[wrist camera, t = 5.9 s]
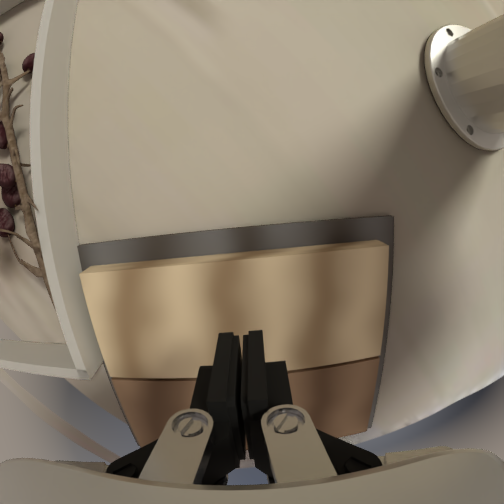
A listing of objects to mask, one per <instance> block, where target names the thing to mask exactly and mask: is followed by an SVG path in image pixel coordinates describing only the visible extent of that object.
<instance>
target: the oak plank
mask: <svg viewBox="0 0 504 504" xmlns="http://www.w3.org/2000/svg"><path fill="white" fill-rule="evenodd" d="M388 261H389V245H387V244H385V243H383V242H381V241H379V240H369V241H358V242H347V243H336V244H325V245H314V246H303V247H292V248H281V249H270V250H259V251H248V252H237V253H227V254H216V255H205V256H194V257H183V258H172V259H161V260H151V261H140V262H129V263H118V264H107V265H97V266H90V267H89V268H87V269H86V270H84V271H83V272H81V273H80V274H79V275H80V279H81V284H82V288H83V292H84V296H85V300H86V303H87V307H88V311H89V314H90V318H91V321H92V325H93V328H94V331H95V335H96V338H97V341H98V344H99V347H100V350H101V353H102V356H103V359H104V362H105V364H106V367H107V370H108V373H109V375H110V377H122V378H197V375H198V371H199V368H200V366H211V365H213V361H214V356H215V350H216V345H217V340H218V334H219V333H224V332H233V333H234V336H235V335H239V339H240V346H241V354H242V350H243V335H248V331H254V330H263V342H264V354H265V362H275V361H286V366H287V371H290V370H298V369H305V368H312V367H319V366H325V365H332V364H338V363H343V362H349V361H354V360H360V359H365V358H370V357H375V356H379V355H380V353H381V346H382V338H383V329H384V319H385V309H386V297H387V282H388Z"/></svg>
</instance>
